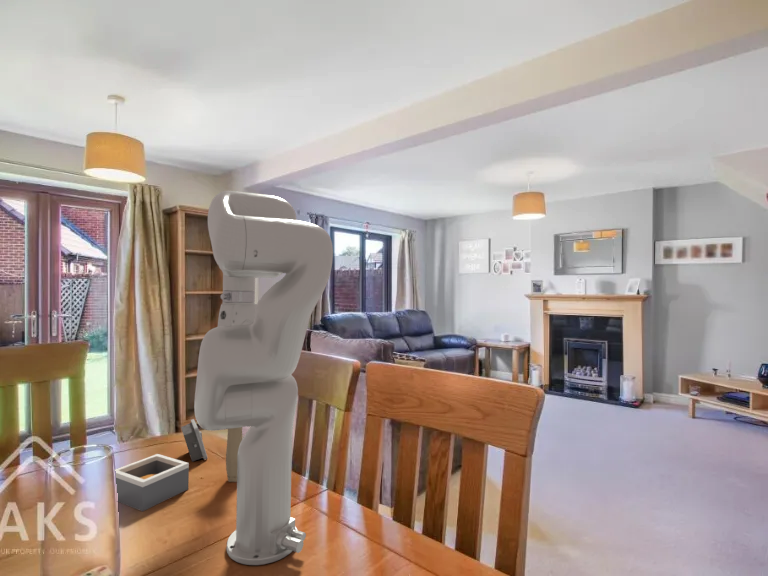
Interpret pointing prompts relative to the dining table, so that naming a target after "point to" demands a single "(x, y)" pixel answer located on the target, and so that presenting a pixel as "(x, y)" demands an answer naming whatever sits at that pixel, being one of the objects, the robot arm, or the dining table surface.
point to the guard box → (151, 481)
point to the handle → (232, 452)
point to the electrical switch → (194, 441)
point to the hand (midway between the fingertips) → (237, 367)
